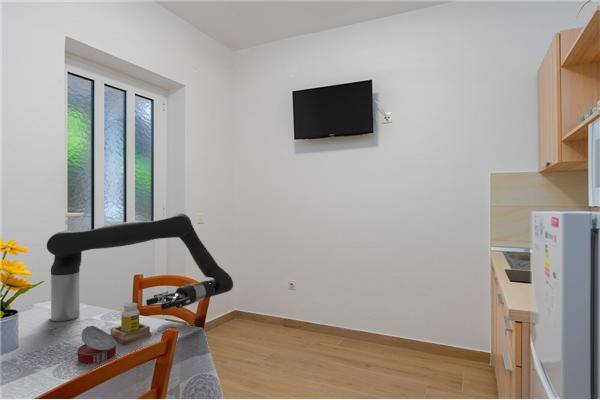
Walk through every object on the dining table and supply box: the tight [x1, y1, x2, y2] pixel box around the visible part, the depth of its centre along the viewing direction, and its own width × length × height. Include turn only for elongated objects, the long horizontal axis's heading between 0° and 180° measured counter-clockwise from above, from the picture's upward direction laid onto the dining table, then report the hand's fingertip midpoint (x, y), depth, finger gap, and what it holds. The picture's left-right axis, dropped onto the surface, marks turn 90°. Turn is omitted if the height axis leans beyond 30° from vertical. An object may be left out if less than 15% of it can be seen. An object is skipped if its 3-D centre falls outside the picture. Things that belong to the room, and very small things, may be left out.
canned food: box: [77, 325, 117, 365], centre depth 105 cm, size 11×10×10 cm
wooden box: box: [109, 322, 152, 346], centre depth 118 cm, size 9×9×3 cm
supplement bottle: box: [120, 302, 140, 333], centre depth 118 cm, size 5×5×10 cm
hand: (154, 304), depth 126 cm, fingers open, 8 cm apart
